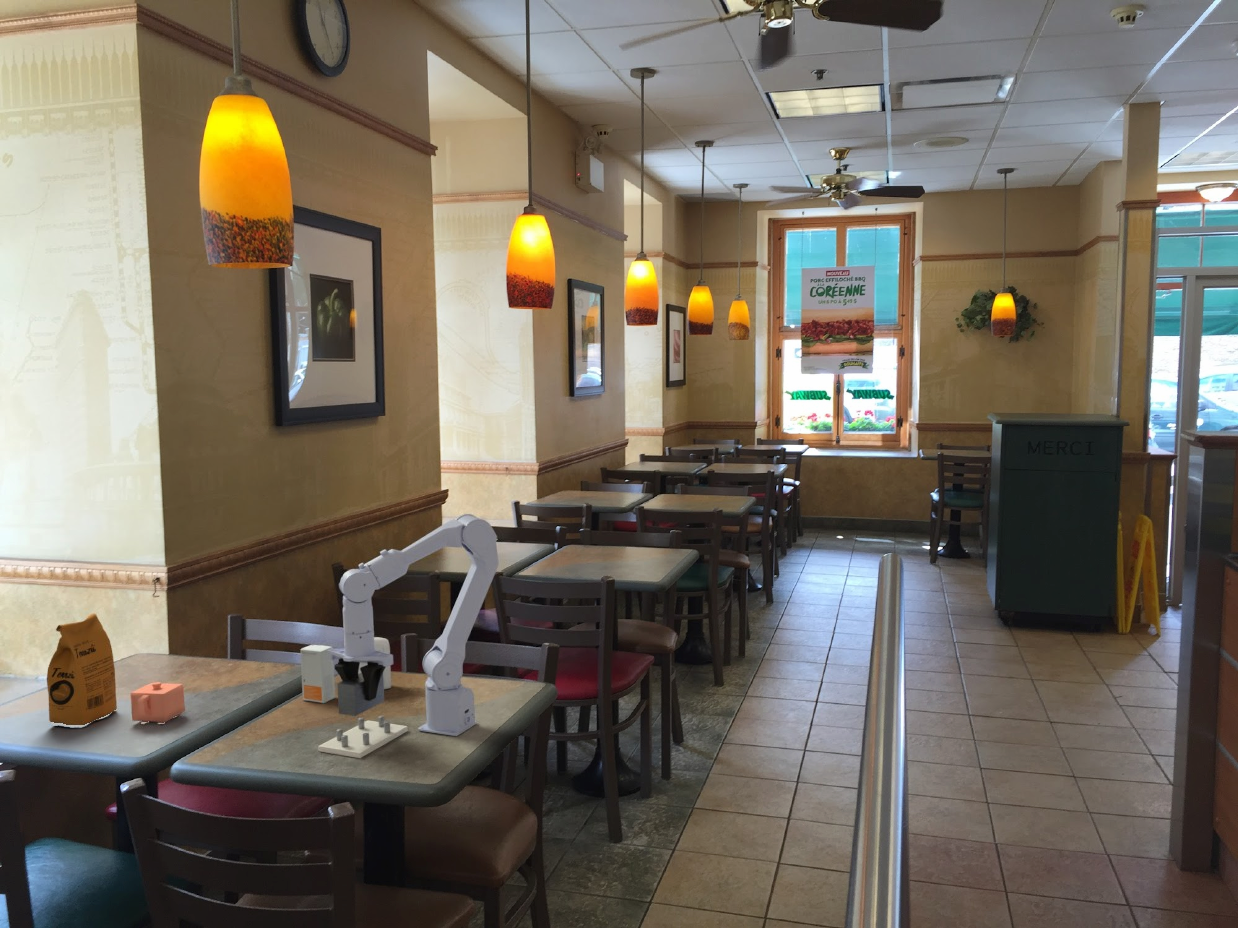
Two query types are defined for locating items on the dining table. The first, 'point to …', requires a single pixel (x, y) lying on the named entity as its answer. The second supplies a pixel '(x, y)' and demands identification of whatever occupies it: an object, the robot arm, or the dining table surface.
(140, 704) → the pink cube teapot
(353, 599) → the robot arm
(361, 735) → the pin tray
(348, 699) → the block
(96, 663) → the coffee package
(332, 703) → the dining table surface
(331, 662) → the skincare box
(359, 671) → the photo printer
